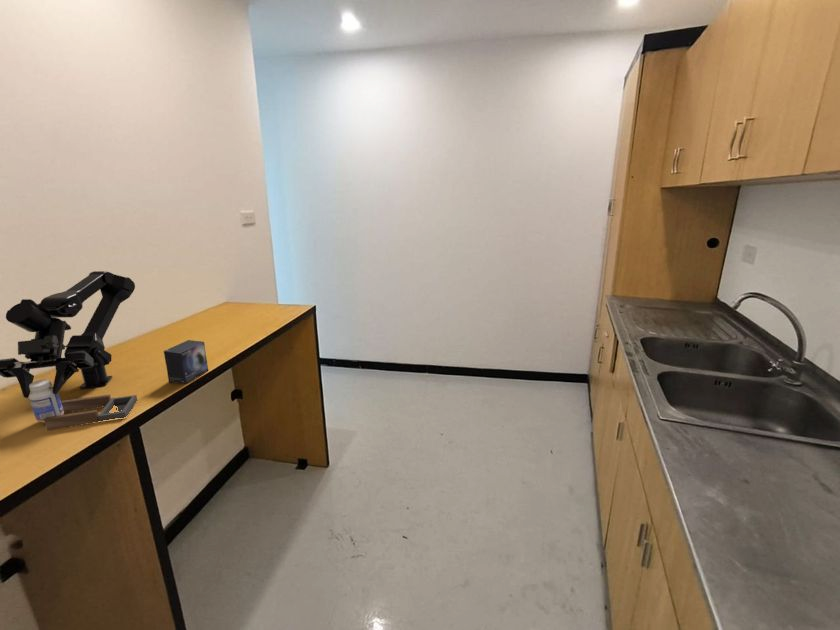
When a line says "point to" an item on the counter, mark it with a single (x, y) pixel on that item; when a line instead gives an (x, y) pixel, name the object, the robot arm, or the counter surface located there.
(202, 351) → the small box
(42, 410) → the pill bottle
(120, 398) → the dark shallow tray
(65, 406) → the walnut channel
